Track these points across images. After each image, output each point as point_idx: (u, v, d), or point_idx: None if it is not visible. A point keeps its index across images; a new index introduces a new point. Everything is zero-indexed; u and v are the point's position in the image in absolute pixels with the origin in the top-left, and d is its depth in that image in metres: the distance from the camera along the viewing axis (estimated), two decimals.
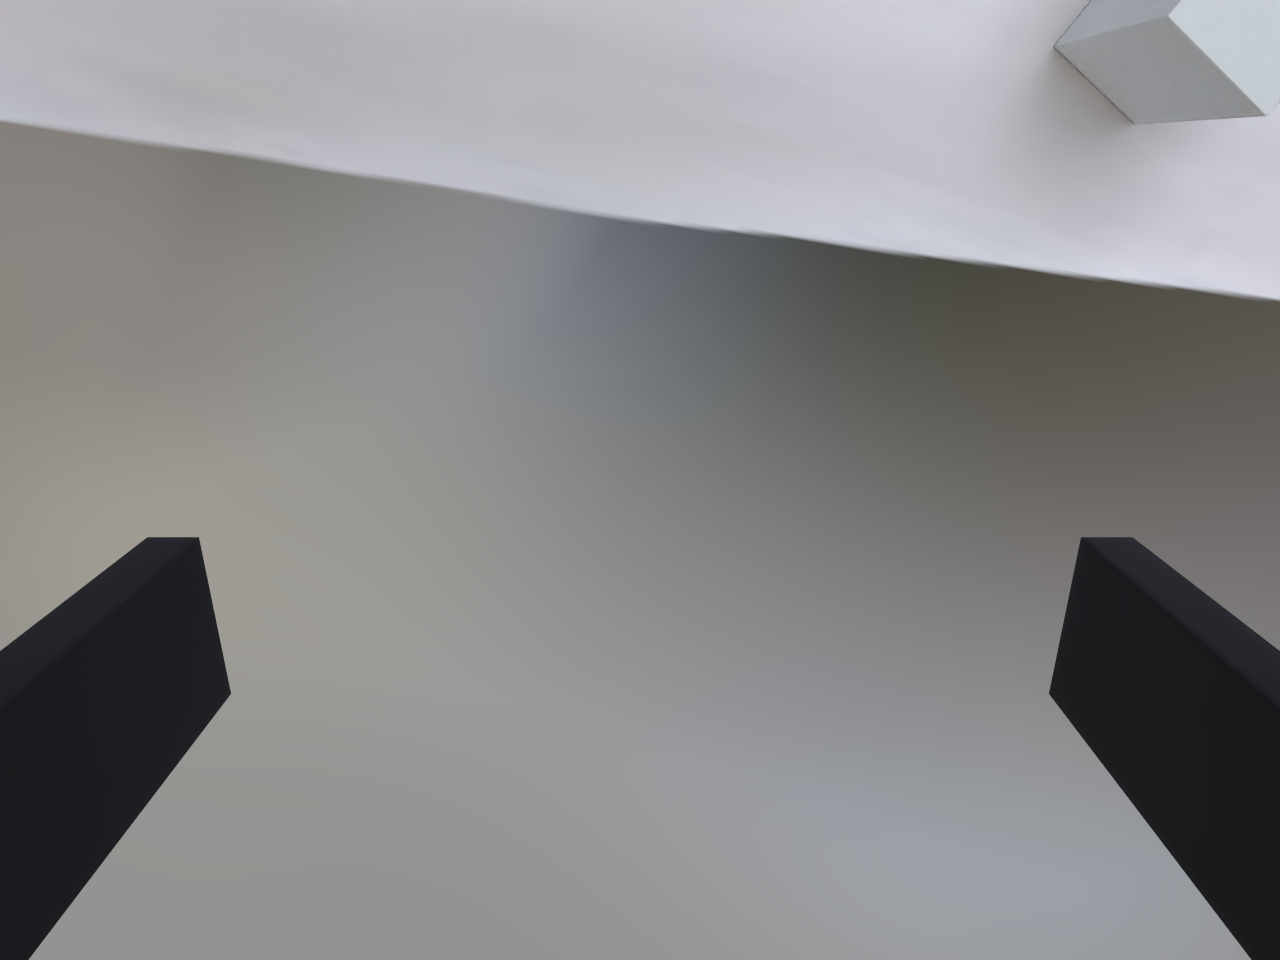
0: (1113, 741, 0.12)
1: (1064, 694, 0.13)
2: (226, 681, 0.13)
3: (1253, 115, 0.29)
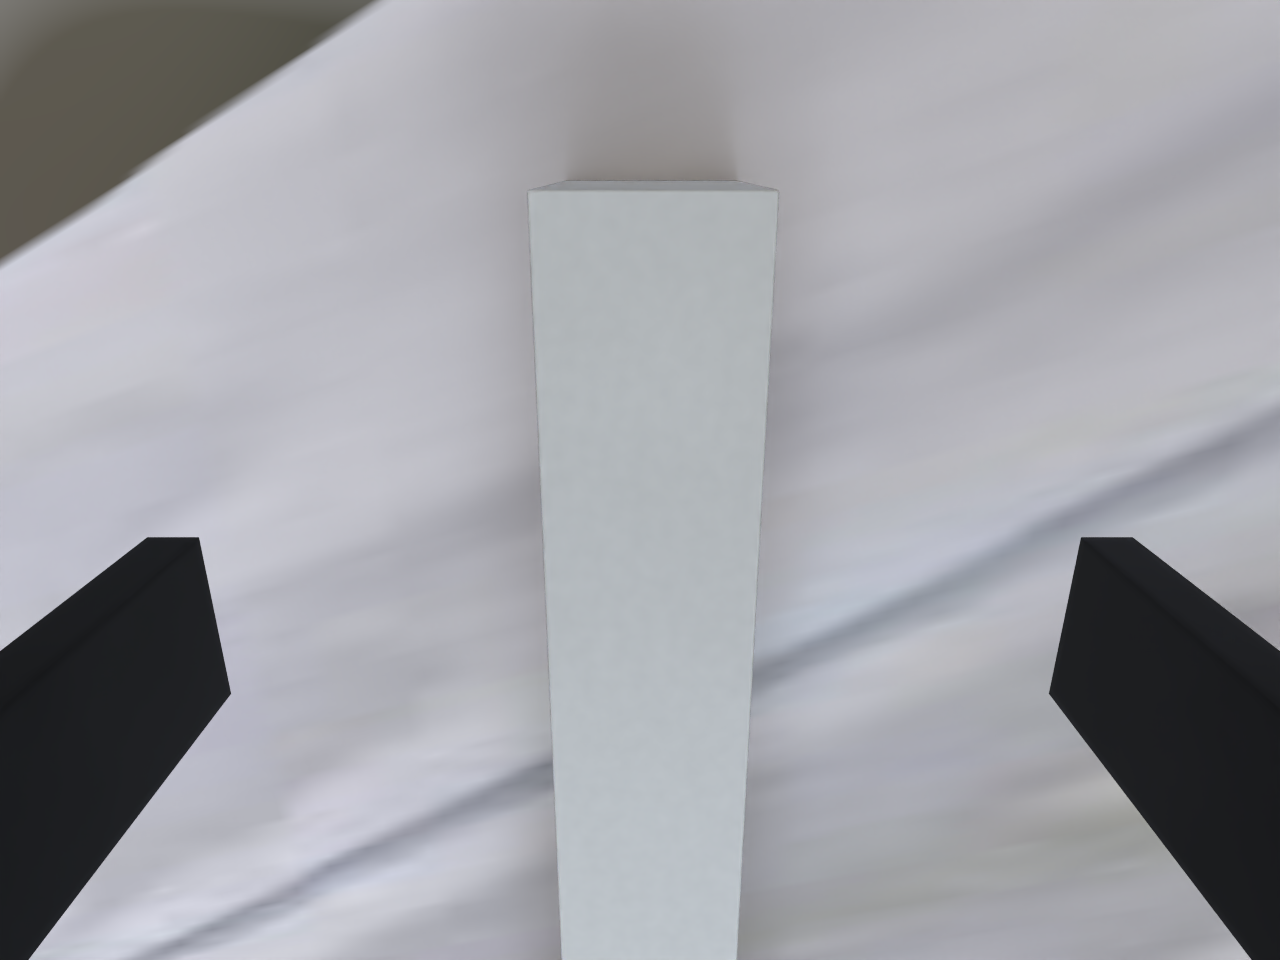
0: (1113, 741, 0.12)
1: (1064, 694, 0.13)
2: (226, 681, 0.13)
3: None
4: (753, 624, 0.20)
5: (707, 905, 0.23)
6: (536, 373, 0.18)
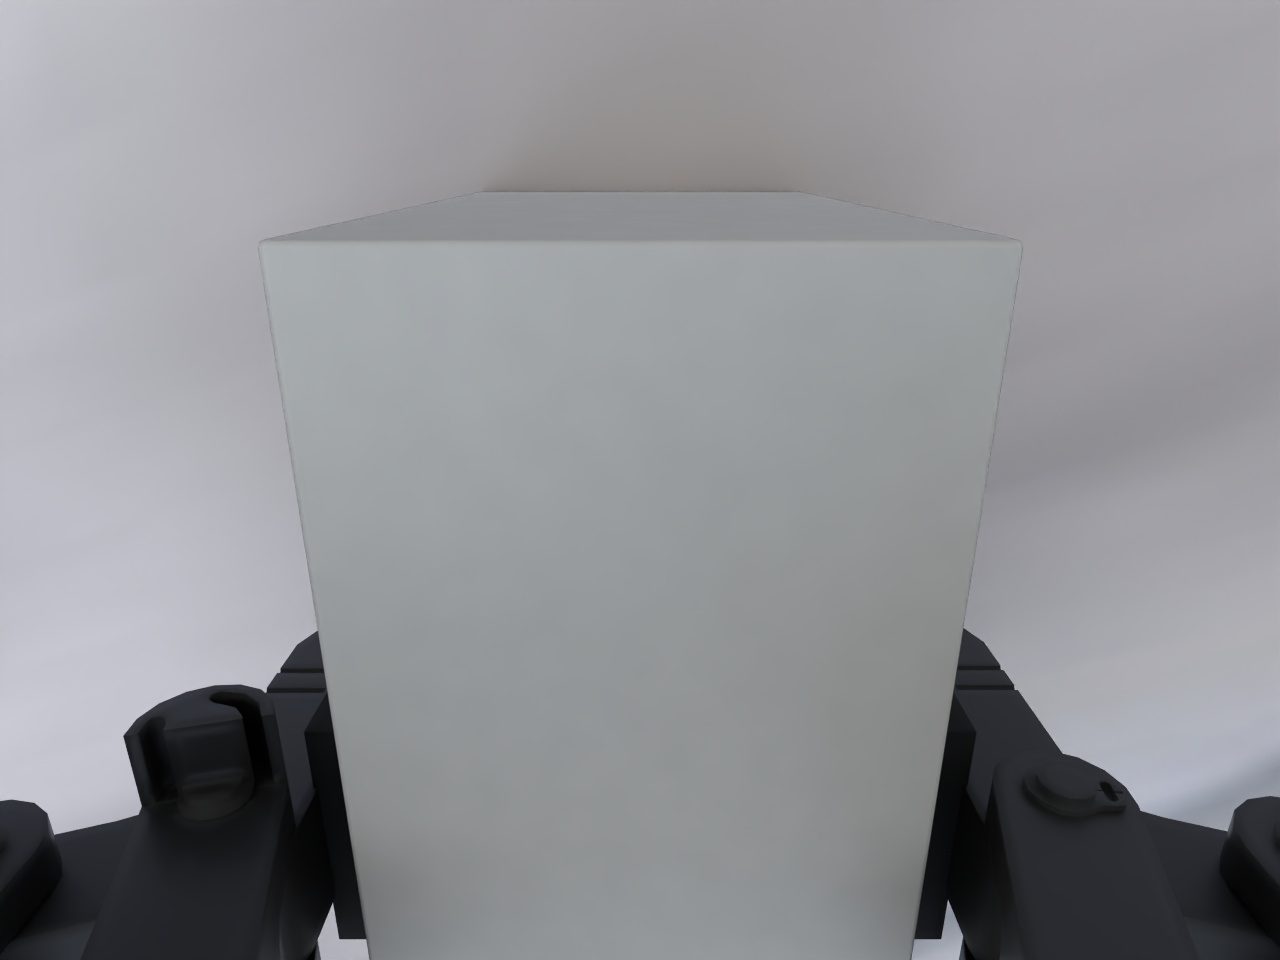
0: None
1: None
2: None
3: (300, 232, 0.06)
4: None
5: None
6: (333, 718, 0.07)
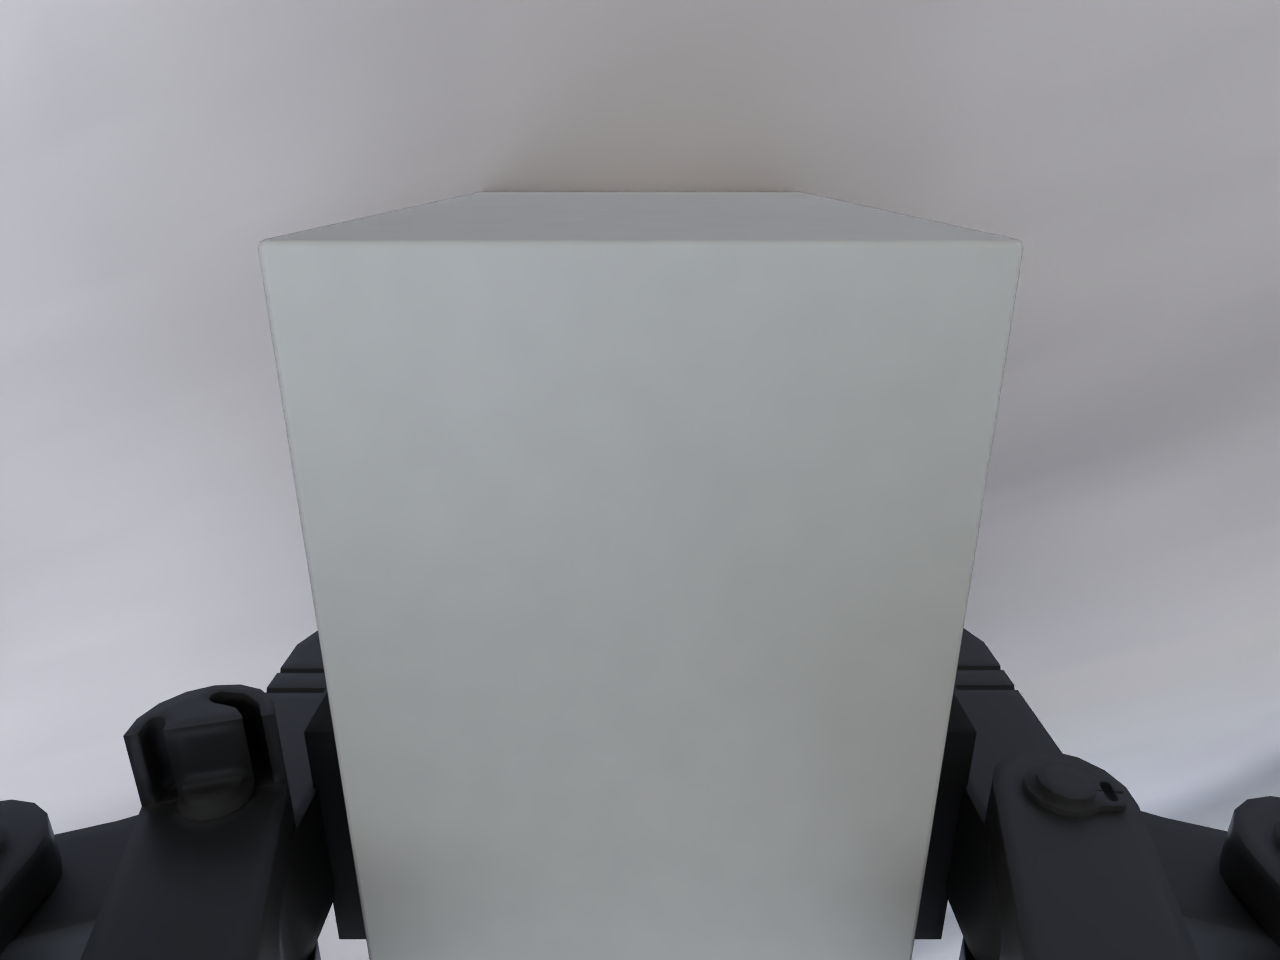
0: None
1: None
2: None
3: (300, 232, 0.06)
4: None
5: None
6: (333, 718, 0.07)
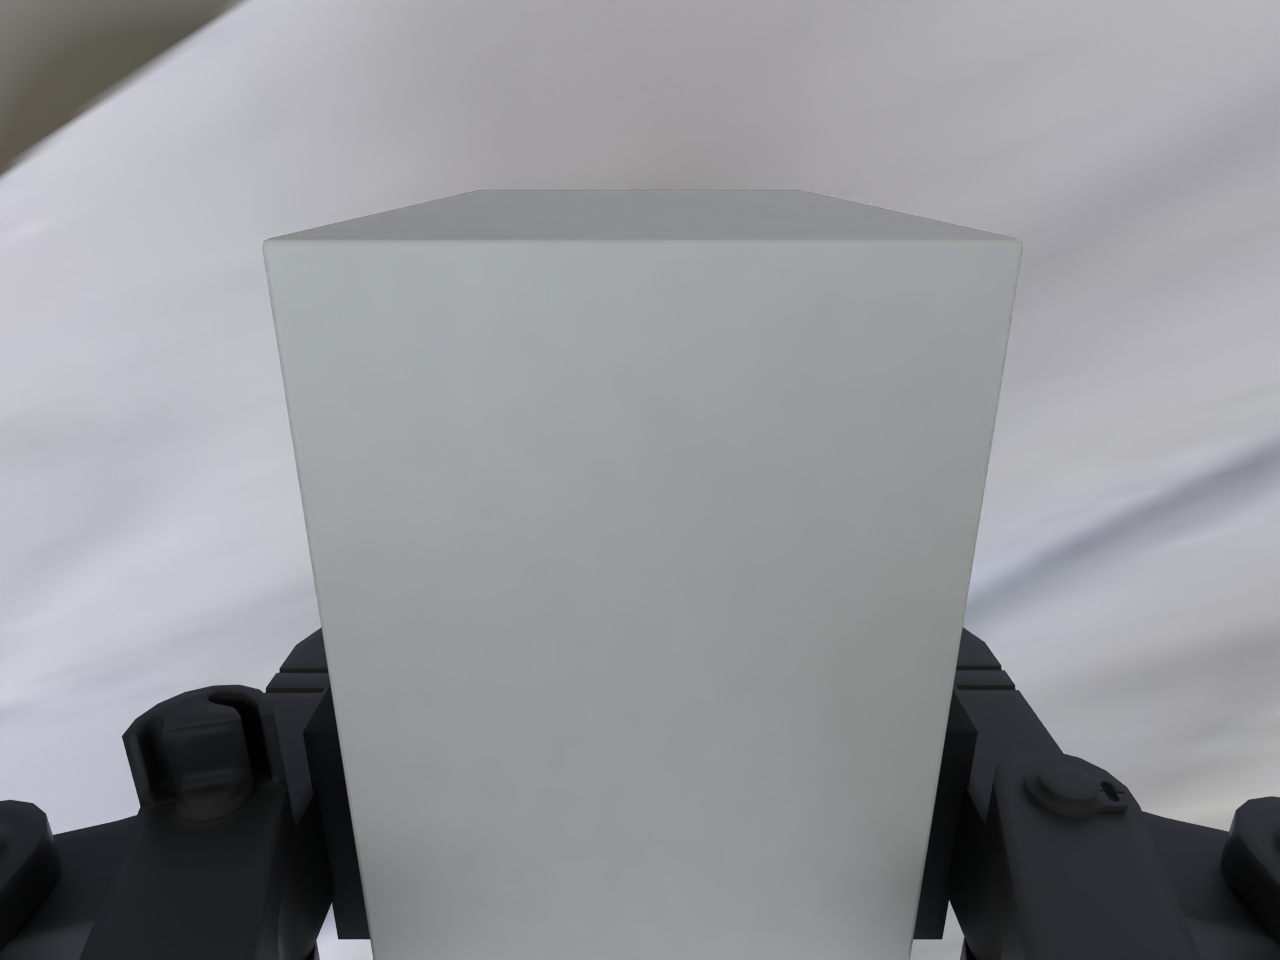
0: None
1: None
2: None
3: (304, 232, 0.06)
4: None
5: None
6: (336, 715, 0.07)
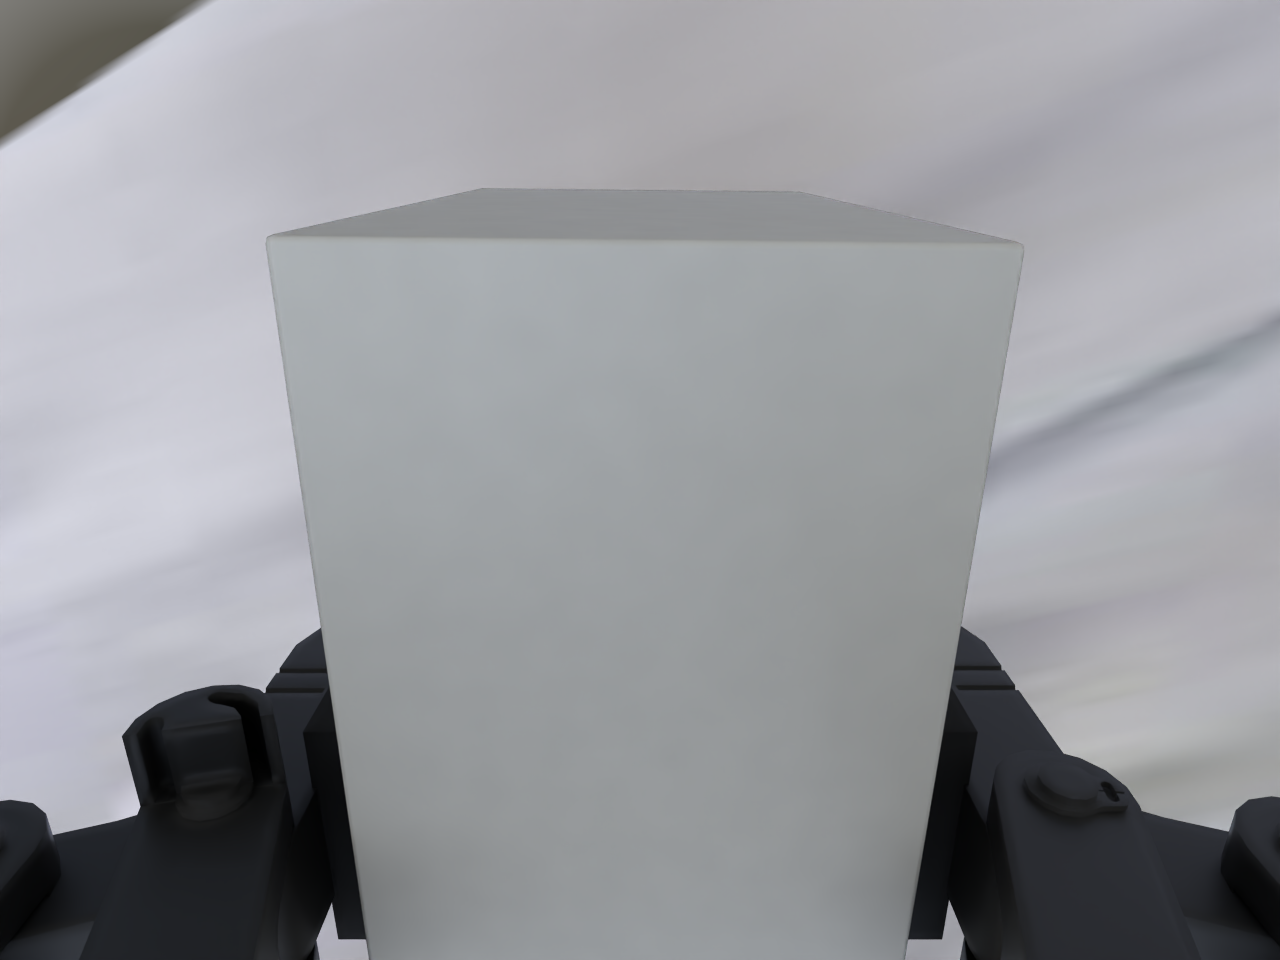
0: None
1: None
2: None
3: (307, 228, 0.06)
4: None
5: None
6: (334, 711, 0.07)
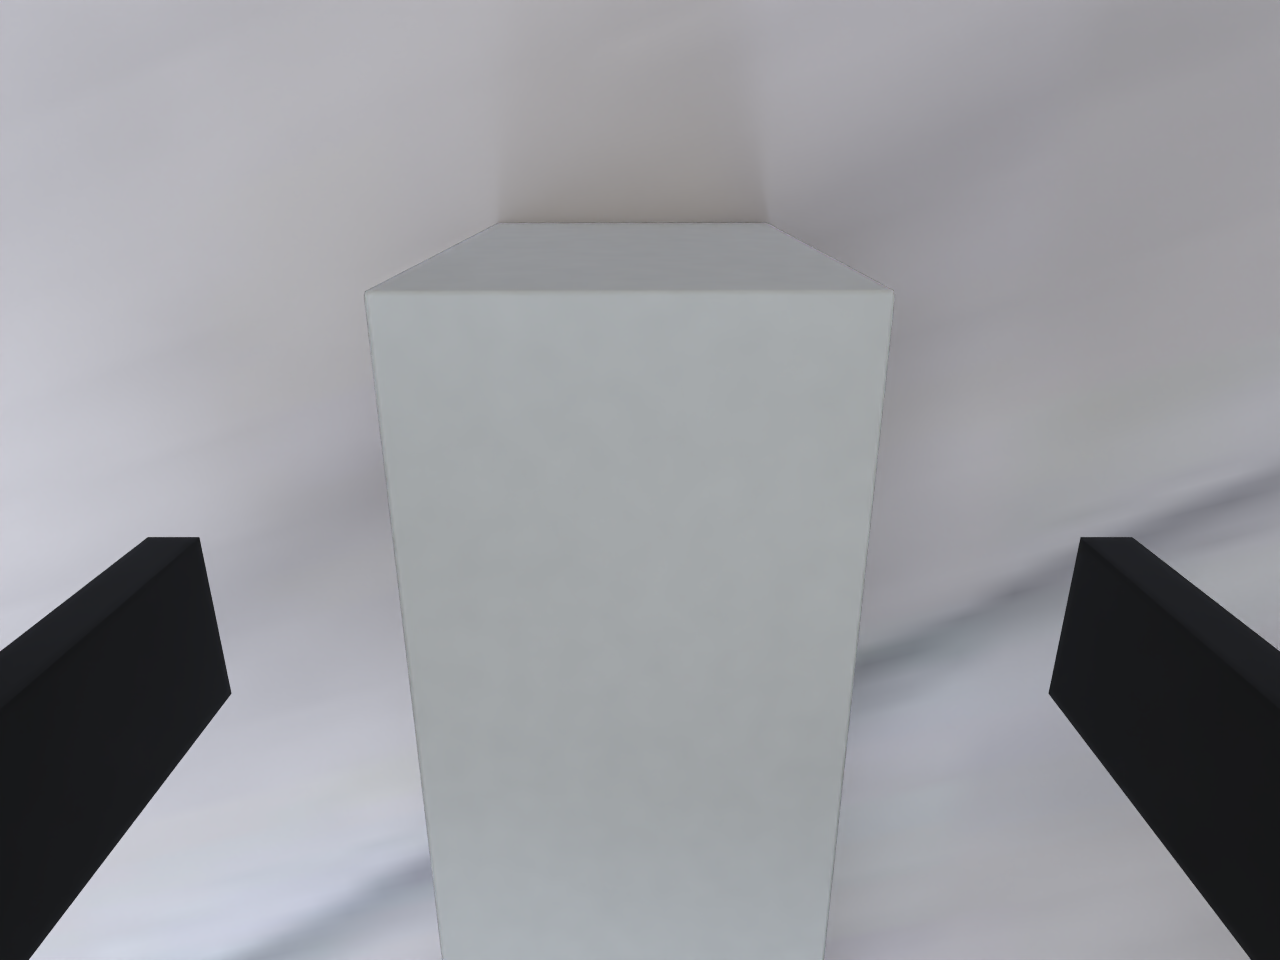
0: (1112, 741, 0.12)
1: (1063, 694, 0.13)
2: (226, 681, 0.13)
3: (388, 281, 0.08)
4: None
5: None
6: (405, 635, 0.09)
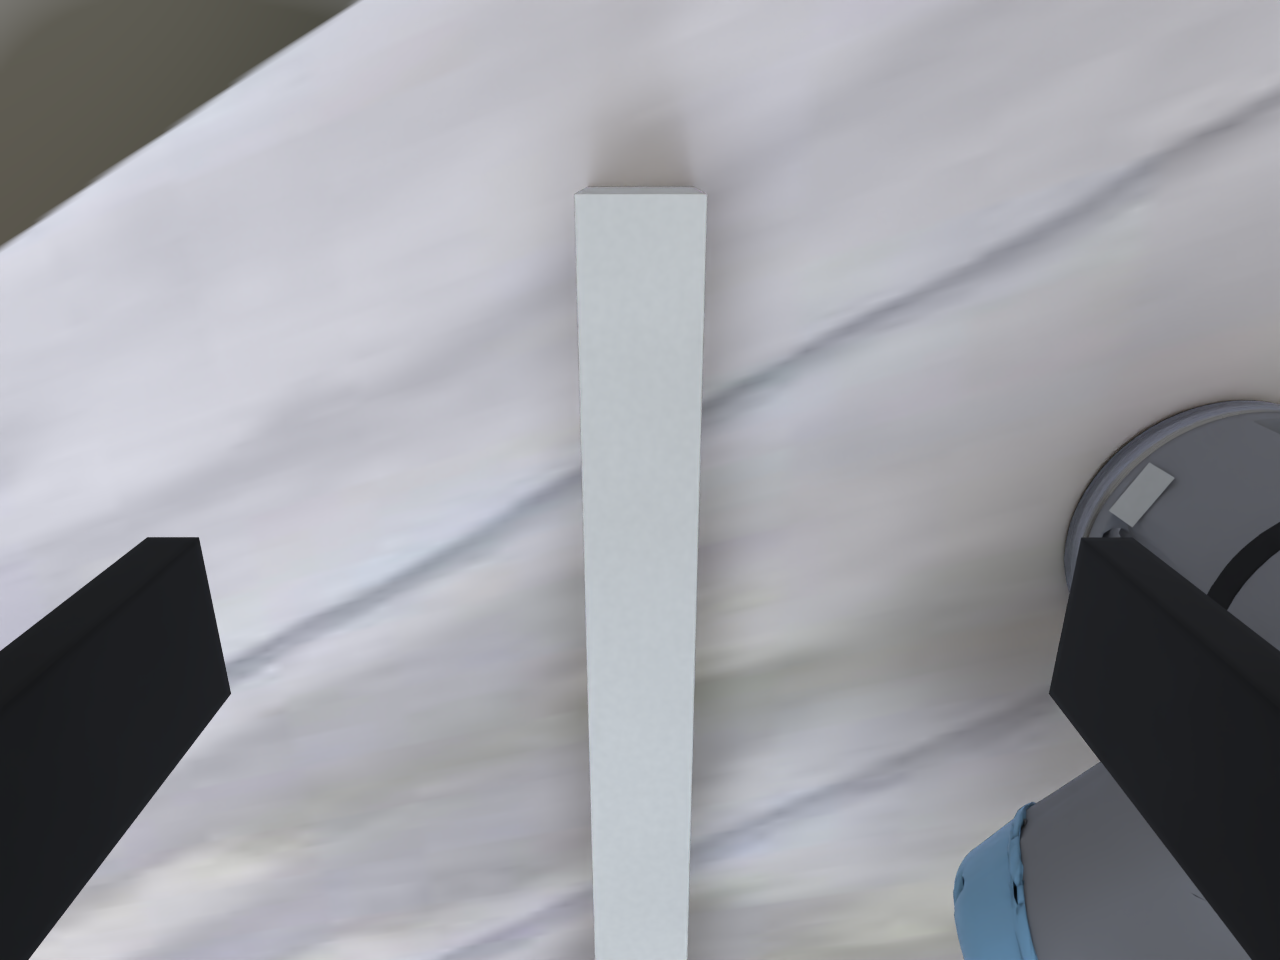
0: (1113, 741, 0.12)
1: (1064, 694, 0.13)
2: (226, 681, 0.13)
3: None
4: (699, 442, 0.35)
5: (676, 628, 0.38)
6: (577, 293, 0.33)
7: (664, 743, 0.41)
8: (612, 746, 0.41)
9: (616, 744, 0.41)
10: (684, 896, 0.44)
